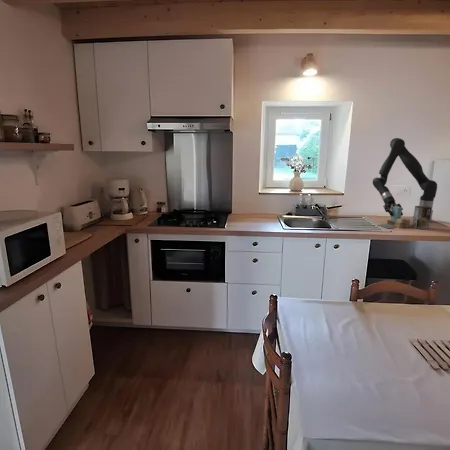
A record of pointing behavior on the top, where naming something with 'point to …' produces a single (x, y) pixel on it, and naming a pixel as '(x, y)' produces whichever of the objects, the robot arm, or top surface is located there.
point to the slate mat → (387, 226)
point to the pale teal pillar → (396, 213)
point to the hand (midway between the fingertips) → (397, 215)
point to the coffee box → (421, 217)
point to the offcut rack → (400, 223)
